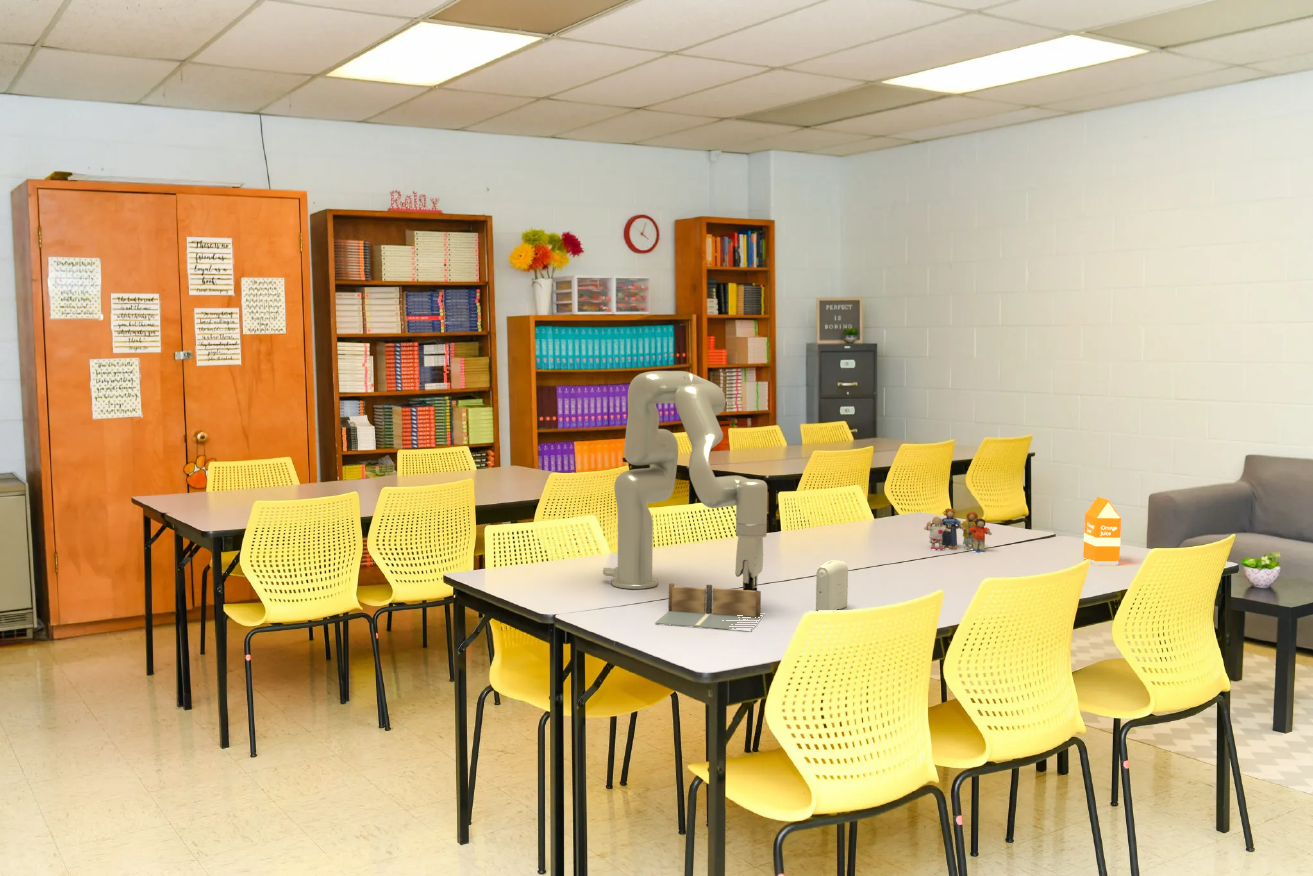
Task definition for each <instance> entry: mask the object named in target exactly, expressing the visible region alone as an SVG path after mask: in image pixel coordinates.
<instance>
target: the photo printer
mask: <svg viewBox="0 0 1313 876" xmlns="http://www.w3.org/2000/svg"><path fill="white" fill-rule="evenodd" d="M848 572H849V568H848V565H847V563H846V562H845V561H842V560H838V559H837V560H836V559H831V560H828V561H826V562H824V563H823V564H822V565H820V566H819V567H818V569H817V570H816V574H815V575H816V578H815V580H816V583H815V587H816V588H815V589H816V590H815V611H817V610H836V611H838V610H837V609H839V610H842V609H844V608H846V607H847V606H848V591H849V590H848V587H849V586H848V585H849V582H848V581H849V573H848Z"/></svg>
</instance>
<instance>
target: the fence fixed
mask: <svg viewBox="0 0 1313 876" xmlns="http://www.w3.org/2000/svg"><path fill="white" fill-rule="evenodd" d="M705 586H706V588H704V587H702V588H701V587H692V586H691V587H689V586H677V585H676V586H675V583H668V605H667V609H668V610H667V612H668V611H675V612H688V613H701V614H705V608H706V614H712V603H713V584H706V585H705Z"/></svg>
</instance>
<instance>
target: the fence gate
mask: <svg viewBox="0 0 1313 876" xmlns="http://www.w3.org/2000/svg"><path fill="white" fill-rule="evenodd" d="M761 593H762V591H761V590H757V591H752V590H743V589H736V588H735V589H733V588H722V587H720V588H719V587H712V613H717V614H730V615H743V616H756V617H760V612H761V609H762V608H761V602H762V601H761V600H762V598H761V596H762V594H761Z"/></svg>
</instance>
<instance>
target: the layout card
mask: <svg viewBox="0 0 1313 876" xmlns="http://www.w3.org/2000/svg"><path fill="white" fill-rule="evenodd" d="M760 613H762V611H760ZM760 615H764V614H760ZM764 616H765V615H764ZM738 617H740V618H738ZM742 617H751V618H742ZM755 617H756V616H737V615H730V614H717V613H712V614H706V608H705V614H701V613H688V612H675V611H668V610H667V612H666V613H665V614H664V615H662V616H661V617H660V618H659V619H657V620H656V621H655V622H654V624H655V623H657V624H656V625H659V624H671V625H670V626H672V625H679V626H678V627H684V626H693V627H692V628H697V627H702V628H701V629H709V628H720V629H719V630H721V629H732V628H734V629H736V628H753V627H729V626H755V625H735V624H757V623H737V622H756V621H726V620H739V619H740V620H743V619H746V620H747V619H748V620H759V619H761V617H762V616H760V618H758V617H756V618H755ZM762 618H763V617H762ZM722 620H724V621H722ZM761 620H762V619H761ZM757 622H758V621H757ZM731 624H733V625H731ZM757 625H758V624H757ZM755 627H756V626H755Z"/></svg>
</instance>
